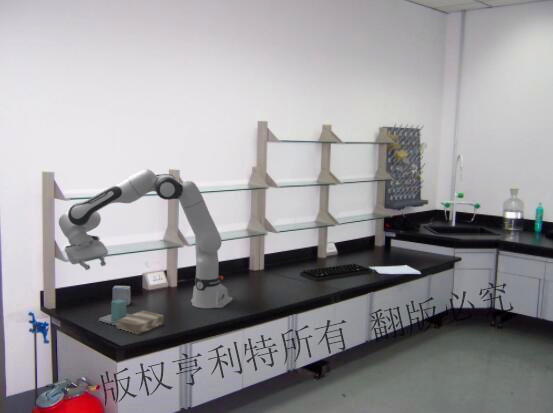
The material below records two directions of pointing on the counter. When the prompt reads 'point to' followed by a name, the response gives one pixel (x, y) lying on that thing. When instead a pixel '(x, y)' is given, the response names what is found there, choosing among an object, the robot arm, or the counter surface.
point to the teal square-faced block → (118, 309)
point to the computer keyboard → (335, 272)
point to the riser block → (140, 322)
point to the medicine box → (122, 293)
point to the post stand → (110, 319)
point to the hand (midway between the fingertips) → (96, 267)
